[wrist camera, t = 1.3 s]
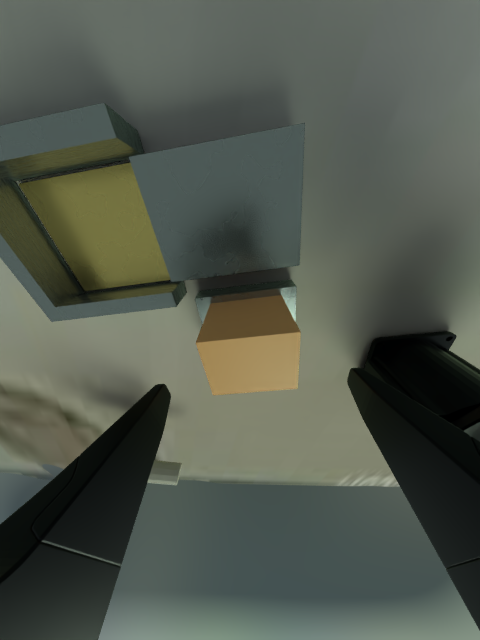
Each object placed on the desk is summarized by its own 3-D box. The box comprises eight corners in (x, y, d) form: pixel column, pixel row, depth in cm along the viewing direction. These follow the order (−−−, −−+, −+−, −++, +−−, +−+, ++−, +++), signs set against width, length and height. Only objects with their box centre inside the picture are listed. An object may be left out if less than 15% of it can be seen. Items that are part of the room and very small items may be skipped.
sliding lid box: (293, 98, 8) (311, 56, 6) (290, 279, 13) (300, 291, 11) (-16, 161, 10) (-90, 145, 8) (80, 306, 14) (51, 321, 12)
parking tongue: (290, 279, 13) (296, 286, 12) (290, 334, 15) (294, 344, 14) (199, 290, 13) (194, 298, 12) (213, 342, 16) (210, 353, 15)
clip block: (281, 295, 12) (300, 332, 8) (282, 341, 14) (297, 388, 10) (210, 303, 12) (195, 342, 8) (220, 347, 14) (213, 395, 10)
